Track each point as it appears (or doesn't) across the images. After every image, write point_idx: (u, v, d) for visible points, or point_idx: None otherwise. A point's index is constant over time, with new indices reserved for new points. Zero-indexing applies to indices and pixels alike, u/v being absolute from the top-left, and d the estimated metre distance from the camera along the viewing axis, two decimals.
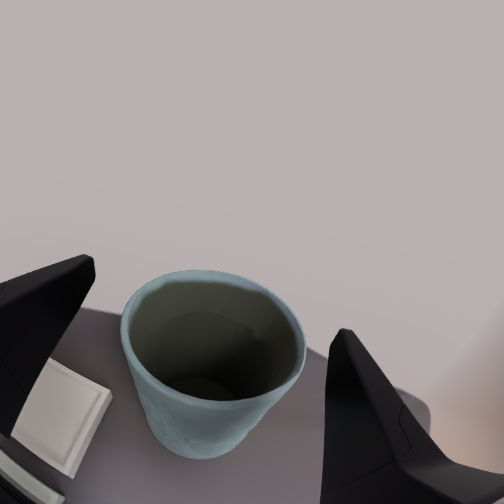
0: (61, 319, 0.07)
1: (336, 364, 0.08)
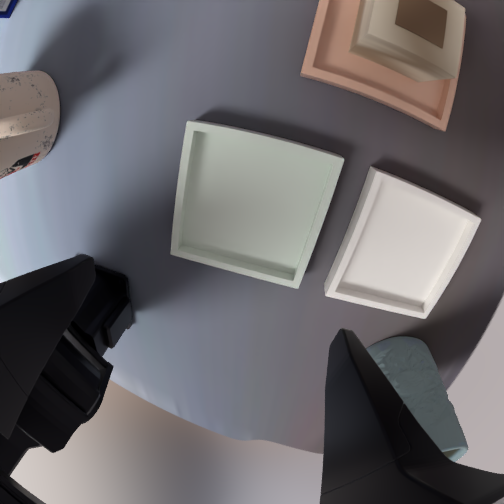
0: (61, 319, 0.07)
1: (336, 364, 0.08)
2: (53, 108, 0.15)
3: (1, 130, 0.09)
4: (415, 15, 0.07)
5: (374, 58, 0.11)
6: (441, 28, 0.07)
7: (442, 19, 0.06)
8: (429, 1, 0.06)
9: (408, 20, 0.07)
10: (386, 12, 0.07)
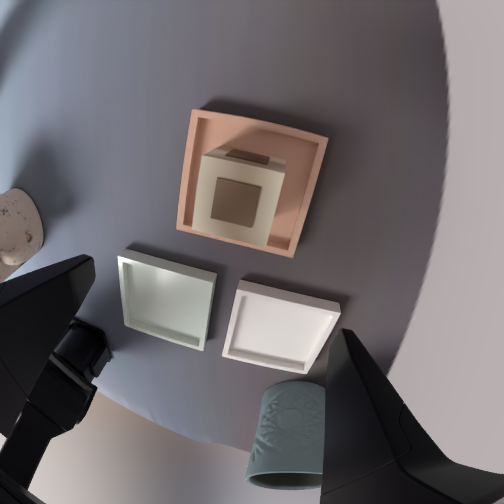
0: (61, 319, 0.07)
1: (336, 364, 0.08)
2: (37, 225, 0.23)
3: (8, 262, 0.18)
4: (228, 204, 0.15)
5: None
6: (253, 207, 0.15)
7: (253, 200, 0.15)
8: (242, 184, 0.15)
9: (221, 211, 0.16)
10: (204, 208, 0.16)
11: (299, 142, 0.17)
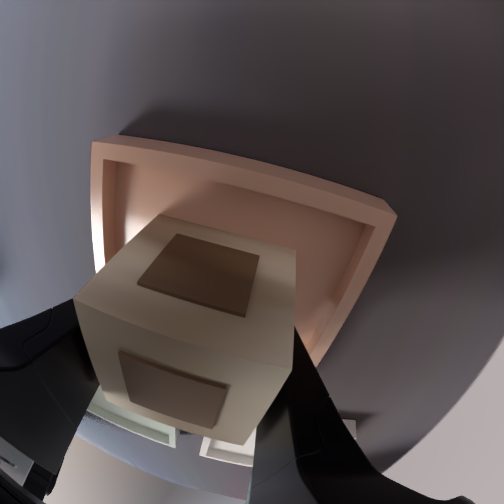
0: None
1: None
2: None
3: None
4: (156, 393, 0.06)
5: None
6: (211, 408, 0.06)
7: (209, 404, 0.05)
8: (179, 376, 0.05)
9: (148, 397, 0.06)
10: (114, 385, 0.06)
11: (328, 215, 0.08)
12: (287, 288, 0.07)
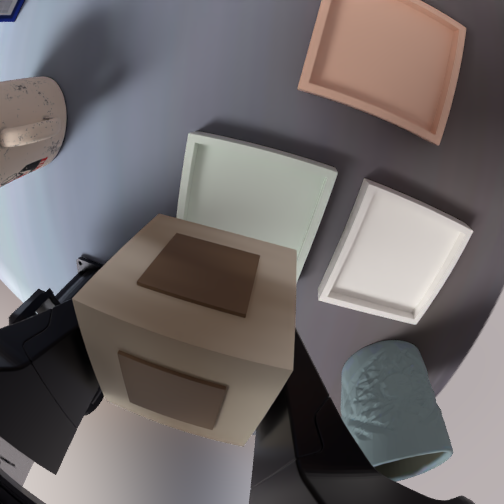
0: None
1: None
2: (60, 115, 0.16)
3: (10, 139, 0.11)
4: (156, 393, 0.06)
5: None
6: (211, 409, 0.06)
7: (209, 404, 0.05)
8: (179, 376, 0.05)
9: (148, 398, 0.06)
10: (114, 386, 0.06)
11: (438, 26, 0.09)
12: (288, 288, 0.07)
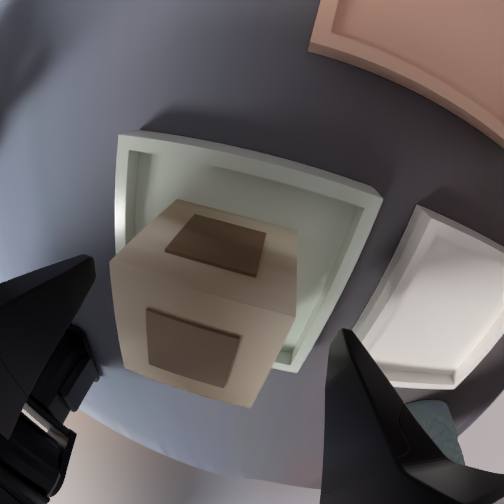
0: (61, 319, 0.07)
1: (336, 364, 0.08)
2: None
3: None
4: (176, 351, 0.07)
5: None
6: (224, 363, 0.07)
7: (224, 356, 0.07)
8: (199, 329, 0.06)
9: (167, 358, 0.07)
10: (135, 348, 0.07)
11: None
12: (290, 258, 0.08)
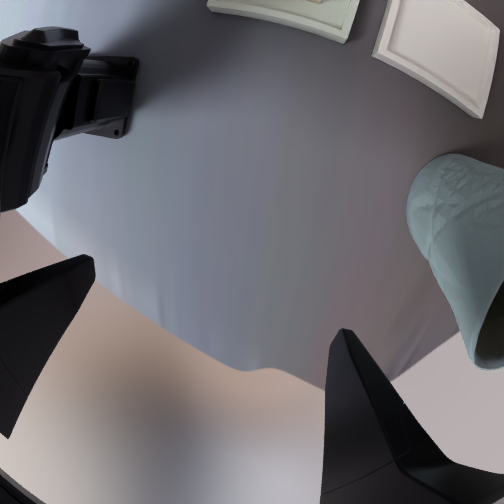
0: (61, 319, 0.07)
1: (336, 364, 0.08)
2: None
3: None
4: None
5: None
6: None
7: None
8: None
9: None
10: None
11: None
12: None
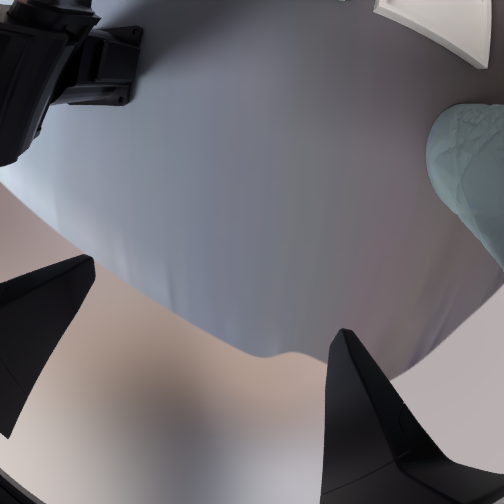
0: (61, 319, 0.07)
1: (336, 364, 0.08)
2: None
3: None
4: None
5: None
6: None
7: None
8: None
9: None
10: None
11: None
12: None
